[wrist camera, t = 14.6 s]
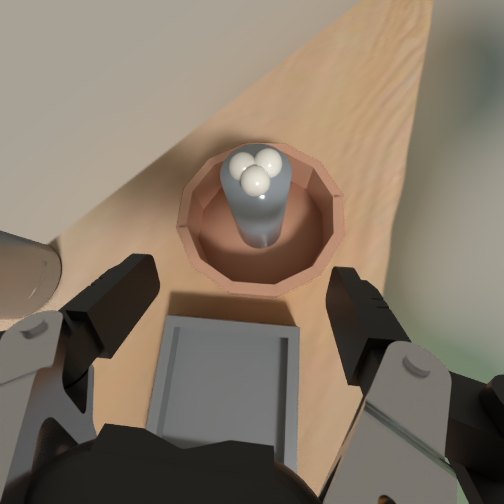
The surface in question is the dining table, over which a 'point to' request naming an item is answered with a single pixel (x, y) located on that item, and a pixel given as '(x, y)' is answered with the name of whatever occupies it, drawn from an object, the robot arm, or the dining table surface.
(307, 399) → the dining table surface
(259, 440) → the parts tray
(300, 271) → the bowl
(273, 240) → the pebble cup
